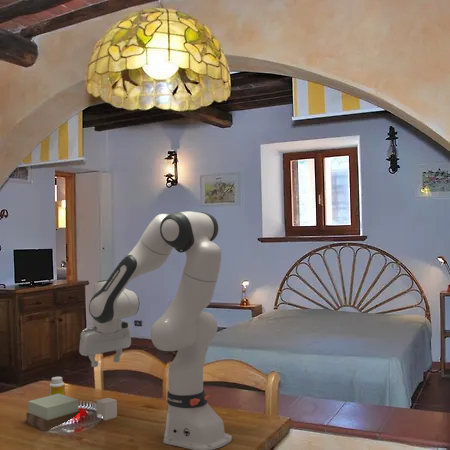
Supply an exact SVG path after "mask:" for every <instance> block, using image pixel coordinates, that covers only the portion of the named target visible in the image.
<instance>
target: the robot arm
mask: <svg viewBox="0 0 450 450" xmlns="http://www.w3.org/2000/svg"><path fill="white" fill-rule="evenodd" d="M218 234H219V224H218V221H217V219H216V218H215V217H214V216H213V215H211V214H209V213H208V212H203V211H202V212H197V211H189V210H188V211H181V212H178V211H177V212H176V211H175V212H173V213H168V214H167V213H160V214H158V215H155V217H154V218H153V219H152V220H151V221H150V222H149V223H148V225H147V227H146V228H145V230H144V232H143V233H142V235H141V237H140V238H139V240H138V242H136V244H135V246H134V247H133V249H132V250H130V252H129V253H128V254H127V255H125V257H123V258H122V260H121V261H120V262H119V263H118V265H116V267H115V268H114V270H113V272H112V273H111V275H109V277H108V279H106V280H105V279H104V280H99V281H97V282H95V284H94V287H93V294H92V297H91V299H90V300H89V305H88V310H89V314H90V316H91V317H92V327H85V328H83V330H82V331H81V332H80V340H79V350H78V352H79V354H80V355H81V356H85V357H88V358H89V360H90V362H91V368H96V367H98V366H99V361H97V360H96V359H95V358H96V355H97V354H104V353H108V352H114V351H115V352H116V353H115V356H113V360H112V361H113V363H118V362H120V357H121V355H122V353H123V349H127V348H129V347H130V346H131V345H132V334H131V329H130V327H131V323H130V322H128V321H125V320H122V319H126V318H127V319H128V318H131V317H134V316H135V315H137V314H138V312H139V309H140V304H141V303H140V299H139V296H138V294H137V293H136V292H135V291H134V290H130V289H127V288H126V287H127V286H128V284H129V283H130V282H131V281H133V280H134V279H136V278H138V277H139V276H141V275H145V274H147V273H150V272H153V271H156V270H158V269H160V268H161V267H162V266H163V265H164V264H165V263H166V261H167V260H168V258H169V256H170V255H171V253H172V251H173V250H176V252H178V253H185V255H186V260H185V262H184V263H185V264H184V267H183V270H182V275H181V278H180V280H179V281H180V282H179V285H178V288H177V290H176V294H175V296H174V298H173V299H172V301H171V303H170V304H169V306H168V307H167V308H166V310H165V312H164V313H163V314H162V315H161V316H160V318H158V319H157V320H155V322H154V323H153V325H151V327H150V328H151V329H150V339H151V342H152V344H153V346H154V347H155V349H157V350H159V351H163V352H164V351H165V352H175V351H177V353H176V355H175V356H174V359H173V360H172V361H171V363H170V364H169V366H168V370H167V371H168V372H167V373H168V390H167V395H166V400H167V401H166V402H167V405H168V407H167V413H166V422H165V430H164V434H163V444H166V445H170V446H176V447H179V448H184V449H189V450H217V449H219V448H221V447H224V446H226V445H228V444H230V443H231V442H232V440H233V436H232V435H231V434H229V433H226V432H225V424H224V421H223V418H221V417H220V416H219V414H217V413H216V411H215V410H214V409H213V408H212V407H211V406H210V404H208V400H209V399H210V396H211V395H210V394H208V395H206V393H205V390H204V367H205V366H204V365H205V359H206V356H207V352H208V349H209V348H210V344H211V343H212V342H213V339H214V338H215V337H216V335H217V333H218V322H217V319H216V318H215V316H214V315H213V314H212V313H211V312H208V311H204V310H205V309H206V308H207V307H208V306H209V305H210V304H211V301H212V299H213V295H214V292H215V289H216V285H217V281H218V279H219V274H220V270H221V262H222V249H221V248H220V246H219V245H217V244H216V243H215V242H214V240H215V239H216V238H217V236H218Z"/></svg>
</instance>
